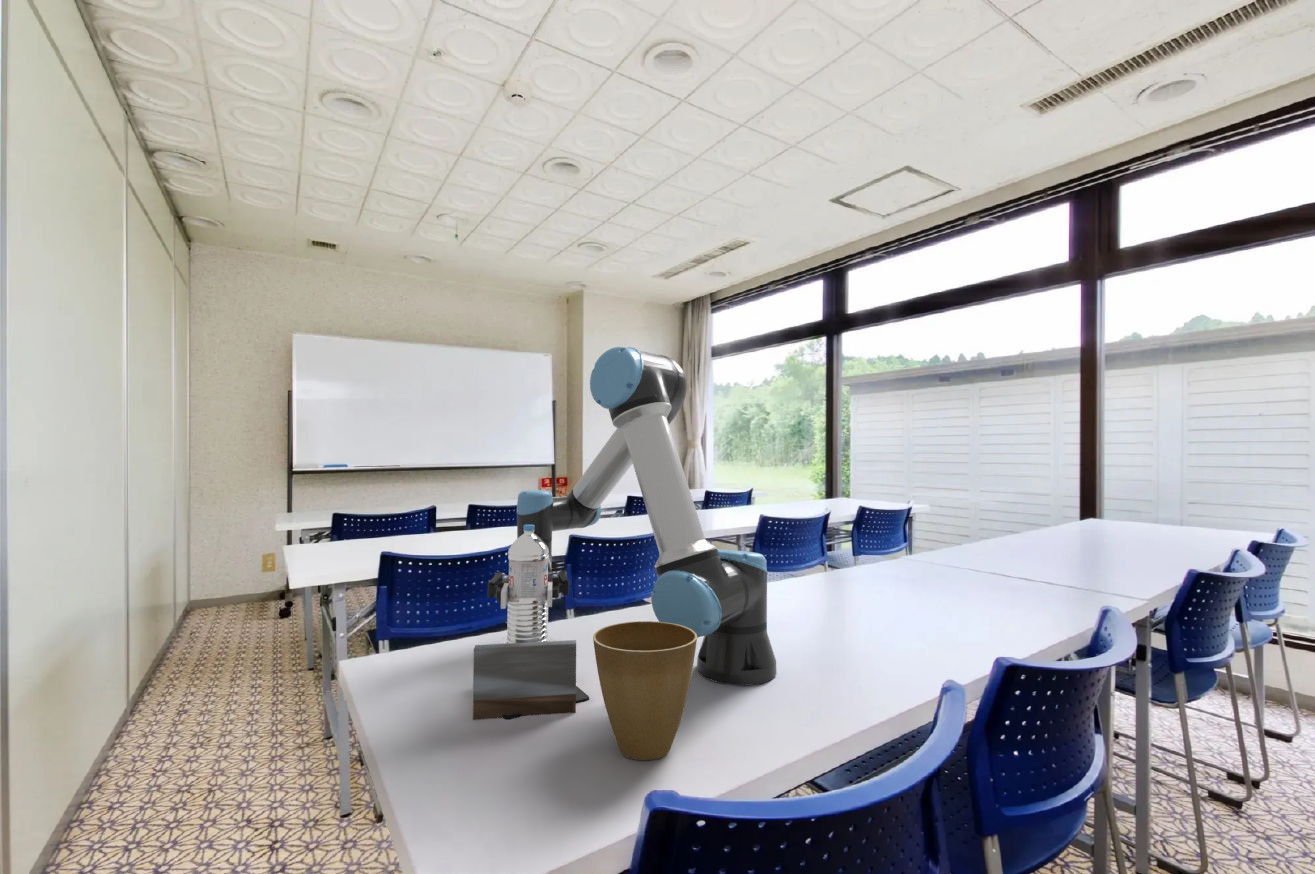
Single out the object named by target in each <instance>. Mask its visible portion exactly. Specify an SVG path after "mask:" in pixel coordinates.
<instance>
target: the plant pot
mask: <svg viewBox="0 0 1315 874" xmlns="http://www.w3.org/2000/svg"><path fill="white" fill-rule="evenodd" d="M592 640H593V641H592V642H593V648H594V656H595V661H596V663H595V664H596V668H597V675H598V681H599V686H600V690H601V694H602V698H603V703H604V707H605V711H606V713H607V718H608V720H609V721H608V722H609V724H610V727H611V730H612V732H613V736H614V739H615V742H616V744H617V747H618V750H619V751H620V753H621V754H622V755H623V756H625V757H627V758H629V759H633V760H637V761H652V760H657V759H661V758H663V757H664V756H666V755H667V754H668V753H670V751H671V749H672V746H673V744H674V741H675V738H676V736H677V732H678V729H679V727H680V723H681V721H682V720H681V719H682V717H683V712H684V709H685V706H686V702H687V698H688V695H689V694H688V693H689V690H690V689H689V688H690V684H691V680H692V673H693V669H694V668H693V667H694V662H695V655H696V649H697V641H698V638H697V634H696V633H695V632H694V631H693V630H692V629H690V628H687V627H685V626H681V625H677V624H673V623H666V622H659V621H653V620H649V621H647V620H646V621H644V620H642V621H638V620H637V621H627V622H619V623H616V624H615V623H614V624H611V625H607V626H604V627H601V628H600V629H598V630H596V631H595V633H594V634H593V636H592Z"/></svg>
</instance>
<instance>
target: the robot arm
mask: <svg viewBox="0 0 1315 874" xmlns="http://www.w3.org/2000/svg"><path fill="white" fill-rule="evenodd" d="M589 389H590V395H591V397H592V399H593V400H594V401H595V403H596V404H597V405H599V406H600V407H602V408H603V409H606V410H608V412H609V416H610V419H611V422H612V425H613V427H614V428H616V429H615V430H614V432H613V433H612V435H611V436H609V439H608V440H607V441H606V442H605V444H604V445H603V447H602V448H601V449H600V451H599V453H598V454H597V456H596V457H595V458H594V459H593V460H592V462H591V464H589V466H588V467H587V469H586V470H585V471H584V473H583V474H582V476H581V477H580V478H579V480H577V482H576V484H575V485H574V487H572V490H570V492H569V493H568V495H566V496H563V497H559V496H558V497H553V493H552V492H551V490H544V489H534V490H531V489H528V490H522V491H520V492H519V493H518V496H517V503H516V527H517V528H516V529H517V530H516V531H517V532H516V535H517V537H516V539H517V538H519V537H520V536H521V535H523V534H524V531H523V530H524V529H523V526H524V525H534V526H535V528H534V534H536V535H537V536H538V537H540V538H541V539H542V540H543V541H544V542H545V544H546V545H547V547H548V549H549V557H548V594H547V607H548V608H552V607H553V599H557V598H559V597H560V594H561V595H563V596H569V594H570V579H569V578H568V576H567V574H568V573H567V570H565V569H562V570H560V571H556V573H554V572H553V571H552V565H553V564H552V563H553V556H552V555H553V554H552V552H553V551H552V548H553V547H552V544H553V543H552V542H553V532H556V531H557V532H558V531H563V530H572V529H583V528H587V527H590V526H593V525H595V524H596V523H598V522H599V520H600V518H601V514H602V503H603V502H604V501H605V500H606V498H607V497H608V496H609V494H610V493H611V492H612V491H613V489H614V488H615V487H616V486H617V484H618V483H619V482H620V480H621V479H622V478H623V477H624V476H625V474H626V473H627V471H628V470H629V469H630V468H631V467H632V465H633V469H634V472H635V475H636V478H637V481H638V485H639V488H640V493H641V495H642V499H643V502H644V505H645V510H646V512H647V516H648V519H649V523H650V525H651V528H652V529H651V530H652V532H653V536H654V539H655V542H656V546H657V549H658V552H659V555H658V556H659V557H658V558H657V560H656V563H655V564H654V569H655V573H656V577H657V579H656V581H655V582H654V584H653V590H652V591H651V593H650V594H651V595H650V596H651V597H650V598H651V607H652V610H653V613H654V615H655V618H656V619H657V620H658V621H657V622H666V623H673V624H677V625H681V626H685V627H687V628H690V629H692V630H693V631H694V632H695V633H696V634H697V639H698V638H700V637H703V639H702V640H701V641H702V642H701V645H700V649H699V651H698V654H697V659H696V660H697V661H696V665H697V667H696V669H697V671H698V674H699V675H700V676H702V677H704V678H705V679H707V680H710V681H712V682H716V683H720V684H724V685H731V686H733V685H734V686H753V685H759V684H764V683H767V682H770V681H771V680H773V679H774V678H775V677H776V675H777V659H776V656H775V653H774V650H773V646H772V644H771V640H770V637H769V635H768V625H767V624H768V573H769V572H768V571H769V570H767V559H766V557H765V556H764V554H762V553H759V552H753V551H746V550H735V549H734V550H733V549H721V548H718V547H717V546H716V545H713V544H712V543H710V542H708V540H707V539H706V537H705V534H704V532H703V528H702V525H701V521H700V519H699V515H698V513H697V509H696V506H695V503H694V500H693V496H692V494H691V491H690V490H691V489H690V487H689V484H688V482H687V478H686V474H685V471H684V468H683V464H682V462H681V458H680V455H679V452H678V449H677V446H676V442H675V440H674V436H673V434H672V430H671V427H670V424H671V423H672V422H673V420H674V419H675V418H676V416H677V415H678V413H679V411H680V410H681V408H682V406H683V404H684V401H685V400H686V395H687V389H688V382H687V378H686V374H685V371H684V370H683V368H682V367H681V366H680V364H679V363H678V362H677V361H676V360H674V359H673V358H671V357H668V356H666V355H662V354H656V353H651V352H646V351H642V350H639V349H638V348H636V347H635V348H634V347H632V346H631V347H629V346H628V347H625V346H624V347H623V346H615V347H611V348H609V349H607V350H606V351H604V352H603V353H602V354H601V355H600V356H599V357H598V358H597V360H596V361H595V362H594V367H593V369H592V370H591V373H590V379H589ZM508 592H509V574H508V575H507V574H506V573H504V572H500V571H496V572H494V576H493V577H492V578H491V579H489V581H488V582H487V598H489V599H492V598H495V600H496V601H497V603H500V610H502V609H503V610H505V609H506V608H507V607H508Z"/></svg>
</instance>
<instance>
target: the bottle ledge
mask: <svg viewBox="0 0 1315 874" xmlns="http://www.w3.org/2000/svg"><path fill="white" fill-rule="evenodd" d="M472 666H473V670H472V671H473V675H472V677H473V679H472V680H473V682H472V689H473V691H472V721H477V720H479V721H480V720H491V719H494V720H495V719H503V714H518V713H520V714H522V715H523V717H534V716H546V715H559V714H560V715H561V714H563V715H564V714H575V713H576V712H577V704H576V686H577V640H576V639H570V640H568V639H567V640H552V641H551V640H548V641H546V642H527V643H507V642H506V643H492V644H490V643H489V644H475V645H474V647H473V665H472Z"/></svg>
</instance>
